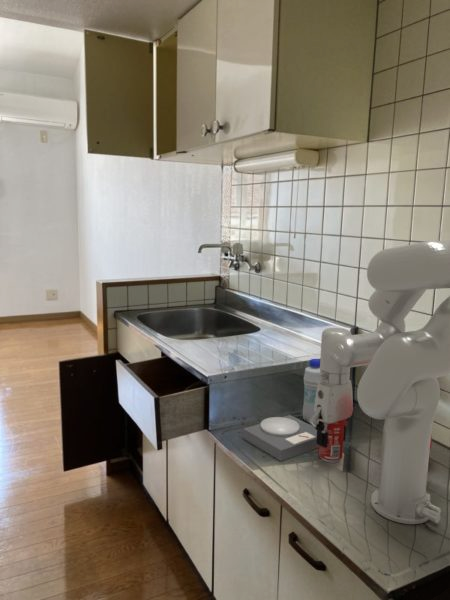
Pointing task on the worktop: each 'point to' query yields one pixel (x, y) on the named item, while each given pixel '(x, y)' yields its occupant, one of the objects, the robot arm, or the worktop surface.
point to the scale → (282, 436)
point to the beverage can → (333, 443)
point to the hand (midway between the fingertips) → (330, 441)
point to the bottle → (310, 388)
